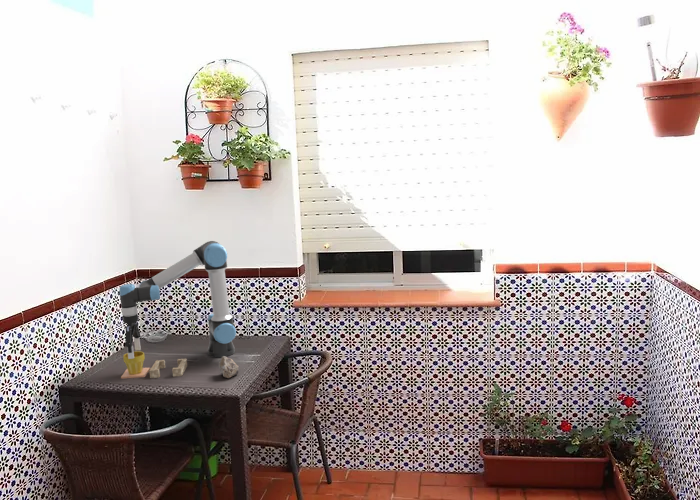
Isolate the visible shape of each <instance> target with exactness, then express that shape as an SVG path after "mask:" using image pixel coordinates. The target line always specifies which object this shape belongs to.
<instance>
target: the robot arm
mask: <svg viewBox="0 0 700 500" xmlns="http://www.w3.org/2000/svg"><path fill="white" fill-rule="evenodd" d="M227 259H228V253H227V249H226V247H224V246H223V245H222V244H220V242H218V241H215V240H210V241H209V240H208V241H206V242H204V243H203V244H202V245H200V246H199V247H198V246H197V248H195V249H194V250H193V251H192V253H191V254H189V255H188V256H185V257H184V258H183V259H181V260H179V261H177V262H176V263H174V264H172V265H170V266H169V267H167V268H165V269H164V270H162V271H160V272H159V273H157V274H156V275H154V276H152V277H151V278H148V279H147V280H146V279H145V280H143V281H142V282H140V283H139V285H138V287H136V285H135V284H133V283H128V284H122V285H121V286H119V289H118V290H119V299H120V307H121V309H120V311H121V313H122V314H121V315H122V323H123V324H126V326H125V329H124V330H125V344H124V345H125V347H124V348H127V349H126V350H127V353H128V359H134V352H135V351H141V350H142V349H141V340H140V338H141V337H142V335H141V332H140V330H139V325H138V322H139V314H138V303H142V302H143V303H144V302H149V301H156V300H160V299H161V291H160V290H161V289H162V288H164V287H166V286H167V285H169V284H171V283H172V282H174V281H176V280H178V279H179V278H181V277H182V276H185V275H186V274H188V273H189V272H191V271H193V270H194V269H196V268H198V267H199V266H204V270H205V271H206V272H207V273H208V279H209V280H208V281H209V290H210V298H211V305H212V313H211V314H208V316H207V323H208V331H209V332H208V333H209V334H208V335H209V344H208V347H207V356H208V357H212V358H222V357H223V356H225V357H230V356H232V355H233V354H235V353H236V348H235V345H234V343H233V340H235V338H236V335H237V329H236V327H235V324H234V316H233V314H231V312H230V306H229V305H230V304H229V296H228V287H227V279H226V270H227V268H228V264H227V263H228V262H227V261H228V260H227ZM133 343H134V346H133Z"/></svg>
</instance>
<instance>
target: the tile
mask: <svg viewBox="0 0 700 500" xmlns="http://www.w3.org/2000/svg"><path fill="white" fill-rule="evenodd" d="M150 369H151V367H143V369H142V372H141V373H139V374H129V372H128V369H127V368H126V369H125V371H124V372H123V374H122V375H121V376H120V379H138V378H145V377H147V375H148V373H150V372H149V370H150Z"/></svg>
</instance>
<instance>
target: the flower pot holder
mask: <svg viewBox="0 0 700 500" xmlns="http://www.w3.org/2000/svg"><path fill="white" fill-rule="evenodd" d="M165 368H166V360H165V359H160V360H158V359H157V360H155V361H154V363H153V365H152V366H151V367H150V370H149V372H148V373H149V378H150V379H155V378H156V379H157V378H160V377H161V374H160V369H165ZM187 368H188V359H187V358H177V367H172V368H171V369H172V377H182V376H183V374H184V373H185V371H186V369H187Z"/></svg>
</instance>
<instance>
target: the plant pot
mask: <svg viewBox="0 0 700 500" xmlns="http://www.w3.org/2000/svg"><path fill="white" fill-rule="evenodd" d="M133 352H134V359H128V352H127V353H125V354H123V355H122V357H123V358H122V359H123V362H124V363H125V366H126V370H127V369H128V372H129V374H139V373H141V372H142V369H143V368H144V361H145V358H146V357H145V353H144V351H141V350H136V351H135V350H134V351H133Z"/></svg>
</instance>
